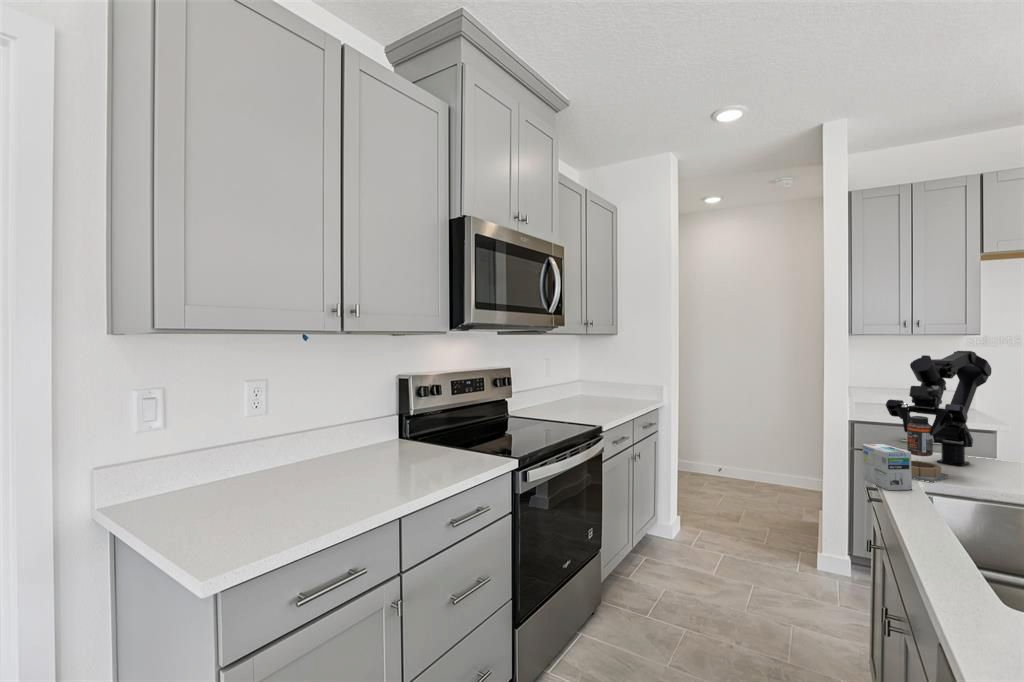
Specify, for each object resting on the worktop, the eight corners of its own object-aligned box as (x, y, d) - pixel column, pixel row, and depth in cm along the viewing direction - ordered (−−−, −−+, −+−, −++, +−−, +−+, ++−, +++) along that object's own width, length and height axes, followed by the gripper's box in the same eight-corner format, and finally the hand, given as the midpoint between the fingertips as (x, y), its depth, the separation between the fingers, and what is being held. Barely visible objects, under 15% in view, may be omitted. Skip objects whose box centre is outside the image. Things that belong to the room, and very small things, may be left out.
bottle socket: (908, 469, 157) (908, 458, 157) (947, 477, 148) (947, 465, 148) (892, 474, 152) (891, 463, 152) (931, 482, 143) (931, 470, 143)
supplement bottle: (902, 452, 153) (901, 415, 152) (919, 451, 153) (918, 414, 153) (920, 457, 147) (919, 419, 146) (938, 456, 147) (937, 418, 147)
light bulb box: (913, 490, 138) (912, 451, 137) (888, 491, 138) (887, 452, 138) (885, 479, 148) (884, 443, 148) (862, 479, 148) (861, 443, 148)
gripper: (887, 374, 159) (873, 412, 154) (963, 377, 144) (951, 420, 138) (897, 396, 164) (884, 434, 158) (972, 401, 149) (961, 444, 143)
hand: (918, 433), depth 149 cm, fingers closed on supplement bottle, 6 cm apart
